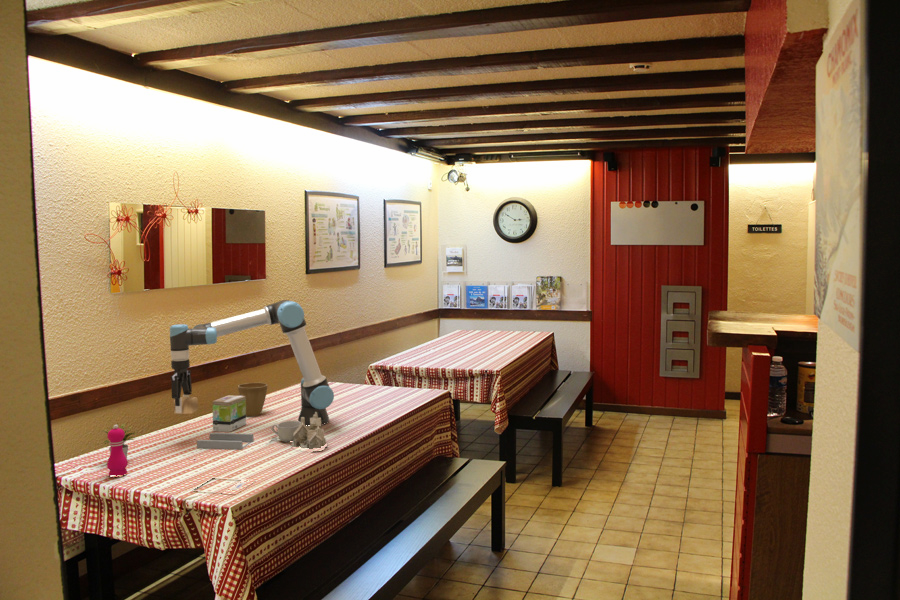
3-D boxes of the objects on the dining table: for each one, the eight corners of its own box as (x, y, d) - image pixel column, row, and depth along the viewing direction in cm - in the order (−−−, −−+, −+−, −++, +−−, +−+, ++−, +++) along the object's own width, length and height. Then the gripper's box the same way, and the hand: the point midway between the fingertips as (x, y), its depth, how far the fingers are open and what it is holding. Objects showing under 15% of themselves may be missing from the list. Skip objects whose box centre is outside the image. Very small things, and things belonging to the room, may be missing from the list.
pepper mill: (112, 472, 266) (109, 422, 264) (131, 472, 266) (129, 421, 265) (104, 478, 259) (101, 427, 257) (123, 478, 259) (121, 426, 258)
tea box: (231, 432, 324) (230, 401, 323) (212, 431, 326) (211, 401, 325) (247, 424, 339) (246, 395, 338) (228, 423, 341) (227, 394, 340)
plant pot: (250, 419, 347) (249, 389, 346) (233, 415, 356) (232, 385, 355) (274, 414, 359) (273, 384, 358) (256, 410, 368) (255, 381, 367)
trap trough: (253, 443, 304) (253, 433, 304) (241, 452, 291) (240, 441, 291) (211, 442, 307) (211, 432, 306) (197, 450, 294) (196, 440, 293)
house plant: (110, 470, 269) (108, 429, 268) (90, 464, 276) (88, 425, 275) (143, 460, 281) (141, 421, 280) (123, 455, 288) (122, 417, 287)
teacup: (306, 438, 312) (306, 421, 311) (293, 445, 302) (293, 427, 301) (280, 436, 316) (279, 419, 316) (266, 442, 306) (266, 424, 306)
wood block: (197, 397, 304) (180, 397, 305) (190, 400, 298) (173, 400, 299) (197, 410, 304) (180, 410, 305) (191, 413, 298) (174, 413, 299)
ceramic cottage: (293, 442, 305) (293, 410, 303) (330, 443, 306) (330, 410, 304) (286, 454, 290) (286, 420, 288) (324, 455, 290) (324, 421, 288)
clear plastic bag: (235, 493, 240) (190, 490, 243) (236, 496, 240) (190, 493, 244) (255, 479, 254) (212, 476, 258) (256, 482, 254) (212, 479, 258)
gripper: (182, 356, 310) (185, 406, 312) (160, 363, 291) (163, 416, 293) (198, 356, 309) (200, 406, 311) (177, 363, 290) (180, 416, 292)
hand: (182, 410), depth 302 cm, fingers closed on wood block, 6 cm apart
